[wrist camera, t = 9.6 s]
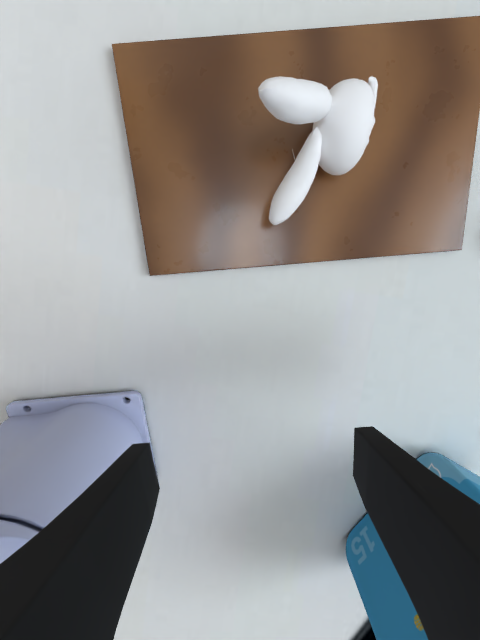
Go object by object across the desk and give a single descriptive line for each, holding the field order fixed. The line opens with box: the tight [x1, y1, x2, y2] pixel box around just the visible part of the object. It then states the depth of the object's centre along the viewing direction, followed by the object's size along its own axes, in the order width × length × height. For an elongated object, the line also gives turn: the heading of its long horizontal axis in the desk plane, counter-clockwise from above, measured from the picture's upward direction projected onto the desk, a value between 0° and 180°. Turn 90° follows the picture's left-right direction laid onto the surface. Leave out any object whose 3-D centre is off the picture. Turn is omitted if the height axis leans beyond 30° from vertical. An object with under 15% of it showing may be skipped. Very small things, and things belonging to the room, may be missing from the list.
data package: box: [346, 453, 480, 640], centre depth 17 cm, size 12×4×12 cm, turn 148°
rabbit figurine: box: [258, 76, 378, 225], centre depth 14 cm, size 6×4×8 cm
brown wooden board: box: [112, 16, 480, 276], centre depth 16 cm, size 20×12×1 cm, turn 95°
